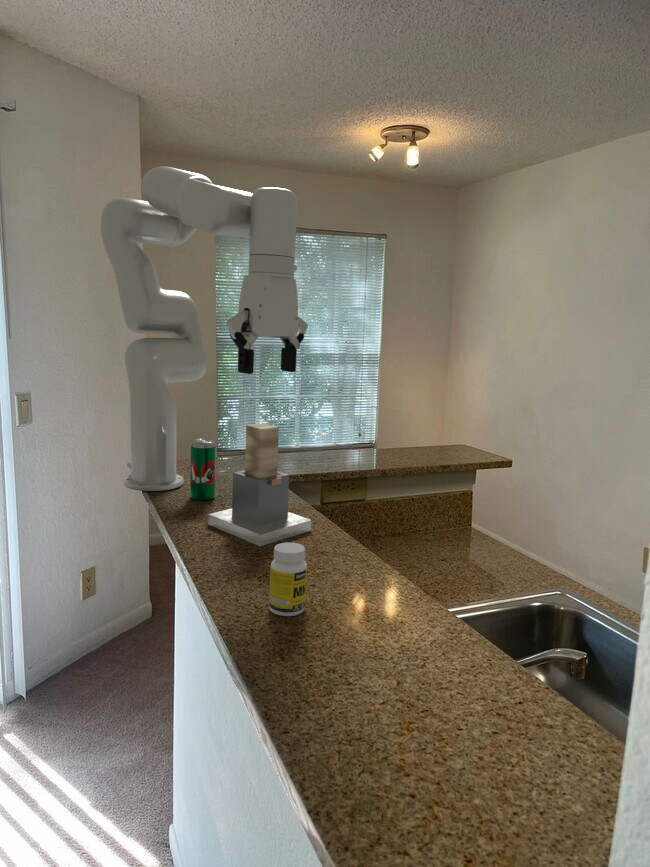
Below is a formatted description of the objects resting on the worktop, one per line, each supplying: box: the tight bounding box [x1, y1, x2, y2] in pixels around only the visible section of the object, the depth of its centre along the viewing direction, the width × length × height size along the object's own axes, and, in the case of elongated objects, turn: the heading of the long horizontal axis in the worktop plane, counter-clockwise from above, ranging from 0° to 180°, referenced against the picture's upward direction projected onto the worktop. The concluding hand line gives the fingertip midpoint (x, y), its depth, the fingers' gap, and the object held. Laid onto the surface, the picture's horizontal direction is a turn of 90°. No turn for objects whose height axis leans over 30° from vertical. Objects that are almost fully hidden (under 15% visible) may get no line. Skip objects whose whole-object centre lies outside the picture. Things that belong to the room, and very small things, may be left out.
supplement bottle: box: [268, 542, 308, 617], centre depth 81 cm, size 5×5×8 cm
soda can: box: [189, 438, 217, 502], centre depth 127 cm, size 5×5×12 cm
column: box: [244, 422, 280, 479], centre depth 110 cm, size 4×4×16 cm
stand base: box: [208, 469, 312, 547], centre depth 111 cm, size 14×12×10 cm
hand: (267, 372), depth 106 cm, fingers open, 9 cm apart
